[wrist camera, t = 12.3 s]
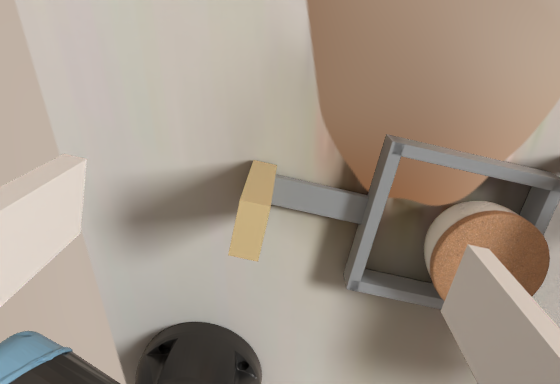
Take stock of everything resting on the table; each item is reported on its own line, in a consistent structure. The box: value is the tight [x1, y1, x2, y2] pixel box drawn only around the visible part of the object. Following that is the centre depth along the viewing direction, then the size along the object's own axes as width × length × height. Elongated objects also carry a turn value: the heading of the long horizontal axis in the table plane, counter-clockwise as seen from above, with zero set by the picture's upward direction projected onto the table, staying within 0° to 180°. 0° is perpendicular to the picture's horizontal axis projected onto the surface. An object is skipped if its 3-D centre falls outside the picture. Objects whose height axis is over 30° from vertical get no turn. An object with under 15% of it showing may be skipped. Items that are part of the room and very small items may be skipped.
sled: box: [228, 135, 560, 309], centre depth 43 cm, size 16×30×12 cm, turn 77°
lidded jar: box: [424, 201, 550, 301], centre depth 45 cm, size 11×11×9 cm
